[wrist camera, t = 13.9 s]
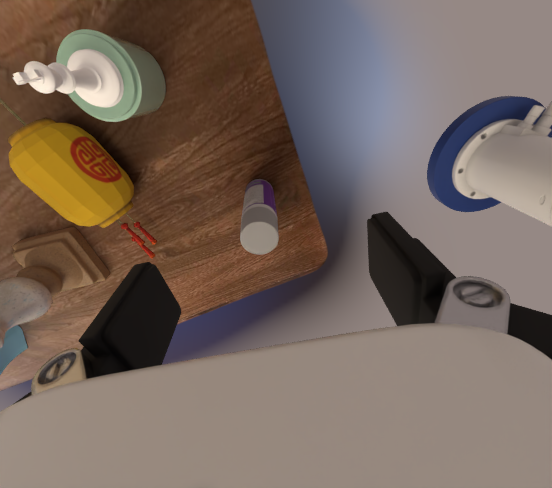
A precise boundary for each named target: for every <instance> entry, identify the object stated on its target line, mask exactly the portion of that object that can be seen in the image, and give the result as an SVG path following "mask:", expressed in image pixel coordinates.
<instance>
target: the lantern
mask: <svg viewBox="0 0 552 488" xmlns="http://www.w3.org/2000/svg"><path fill="white" fill-rule="evenodd" d="M0 102H1V103H2V104H3V105H4V106H5V107H6V108H7V109H8V110H9V111H10V112H11V113H12V114H13V115H14V116H15V117H16V118H17V119H18V120H19V121H20V122H21V123H22V124H23V125H24V126H23V127H22V128H20V129H18V130H17V131H15V132H14V133H13V134H12V135H11V136H10V137H9V139H8V142H9V143H10V144H11V146H12V149H11V151H10V152H9V161H10V166H11V168H12V169H13V171H14V172H15V174H16V175H17V177H18V178H19V179H20V180H21V181H22V182H23V183H24V184H25V185H26V186H28V187H29V188H30V189H31V190H32V191H33V192H35V193H36V194H37V195H38V196H39V197H40V198H42V199H43V200H44V201H45V202H46V203H47V204H49V205H50V206H51V207H52V208H53V209H54V210H56V211H57V212H58V213H59V214H60V215H61V216H62V217H64V218H65V219H67V220H69V221H71V222H73V223H75V224H77V225H79V226H94V225H99V226H101V227H103V228H104V227H106V226H108V225H110V224H111V223H113V222H114V221H116V222H117V223H118V224H120V223H121V224H122V225H121V224H120V225H121V228H122V229H125V230H126V231H127V232H128V233H129V234H130V235H131V236H132V241H136V242H137V243H138V245H139V246H140V247H141V248H142V249H143V250H144V251H145V252H146V253H147V254H148V255H149V256H150V257H151V258H153V257H154V256H155V254H154V253H153V252H152V251H150V250H149V249H148V248H147V247H146V246H145V245H144V243H145V241H143V240H142V239H141V238H140V237H139V236H138V235H136V234H135V233H134V232H133V231H132V230H131V229H130V228H128V224H127V223H124V224H123V223H122V222H121V221H120V220H119V219H118V218H120V217H121V216H122V215H124V214H126V215H127V216H128V217H129V218H130V219H131V220H132V221H133V222H134V227H138V228H139V229H140V230H141V231H142V233H143V234H144V235H145V236H146V237H147V238H148V239H149V240H150V241H151V243H152V244H155V243H156V242H157V240H155V239H154V238H153V237H152V236H151V235H150V234H149V233H148V232H147V231H146V230H144V229H143V228H142V227H141V226H140V222H135V221H134V220H133V219H132V218H131V217H130V216H129V215H128V214H127V213H126V212H127V211H129V210H130V209H131V208H132V207H133V206H134V205H133V203H132V202H131V199H132V197H133V195H134V186H133V184H132V182H131V180H130V178H129V176H128V175H127V173H126V172H125V171H124V170H123V169H122V168H121V167H120V166H119V165H118V164H117V162H116V161H115V160H114V159H113V158H112V157H111V156H110V155H109V154H108V153H107V152H106V150H105V149H104V148H103V147H102V146H101V145H100V144H99V143H98V142H97V141H96V139H95V138H94V137H93V136H91V135H90V134H89V133H87V132H86V131H84V130H83V129H81V128H80V127H78V126H75V125H71V124H68V123H56V122H54V121H53V120H52V119H50V118H43V119H40V120H36V121H34V122H31V123H29V124H26V123H25V122H24V121H23V120H22V119H21V118H20V117H19V116H18V115H17V114H16V113H15V112H14V111H13V110H12V109H11V108H10V107H9V106H7V105H6V104H5V103H4V102H3V101H2V100H1V99H0ZM117 220H118V221H119V222H120V223H119V222H118V221H117Z"/></svg>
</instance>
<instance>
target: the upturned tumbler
mask: <svg viewBox="0 0 552 488" xmlns="http://www.w3.org/2000/svg"><path fill="white" fill-rule="evenodd" d="M82 49H92V50H96V51H99V52H101V53H103V54H104V55H106V56H107V57H108V58H109V59H110V60H111V61H112V62H113V63H114V64H115V65H116V67H117V68H118V70H119V72H120V74H121V76H122V79H123V84H124V92H123V96H122V98H121V100H120V101H119V103H117V104H116V105H115V106H112V107H107V108H104V107H98V106H94V105H92V104H90V103H88V102H86V101H85V100H84V99H82V98H81V97H80V96H79V95H78V94H77V93H76V91H75V90H74V91H73V92H72V93H69V94H68V95H69V96H70V98H71V99H72V100H73V101H74V102H75V103H76V104H77V105H78V106H79V107H80V108H81V109H83V110H84V111H85V112H87V113H88V114H90V115H91V116H93V117H95V118H98V119H100V120H104V121H108V122H119V121H123V120H127V119H131V118H135V117H139V116H143V115H147V114H150V113H153V112H154V111H156V110H157V109H158V108H159V107H160V106H161V104H162V103H163V100H164V97H165V92H166V85H165V79H164V75H163V72H162V70H161V68H160V66H159V64H158V63H157V61H156V60H155V59H154V57H153V56H152V55H151V54H150V53H149V52H148V51H146V50H145V49H144V48H142V47H140V46H139V45H136V44H134V43H131V42H128V41H125V40H122V39H119V38H116V37H113V36H110V35H107V34H104V33H101V32H98V31H94V30H88V29H83V30H77V31H74V32H72V33H70V34H69V35H67V36H66V37H65V38H64V40H63V41H62V43H61V45H60V47H59V50H58V53H57V59H56V63H60V64H63V65H64V66H66V67H67V63H68V60H69V58H70V56H71V55H72V54H73V53H74V52H76V51H78V50H82Z"/></svg>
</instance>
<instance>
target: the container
mask: <svg viewBox="0 0 552 488" xmlns="http://www.w3.org/2000/svg"><path fill="white" fill-rule="evenodd" d="M240 241H241V244H242V246H243V247H244V248H245V249H246V250H247V251H249V252H250V253H253V254H266V253H268V252H270V251H272V250H273V249H274V248H275V247H276V245H277V243H278V224H277V213H276V206H275V199H274V191H273V188H272V186H271V184H270V183H269V182H267V181H266V180H263V179H256V180H253V181H251V182H250V183H249V184H248V185H247V187H246V191H245V197H244V205H243V212H242V221H241V234H240Z"/></svg>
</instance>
